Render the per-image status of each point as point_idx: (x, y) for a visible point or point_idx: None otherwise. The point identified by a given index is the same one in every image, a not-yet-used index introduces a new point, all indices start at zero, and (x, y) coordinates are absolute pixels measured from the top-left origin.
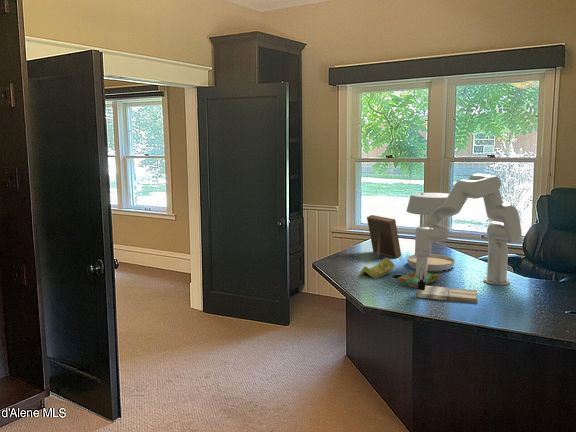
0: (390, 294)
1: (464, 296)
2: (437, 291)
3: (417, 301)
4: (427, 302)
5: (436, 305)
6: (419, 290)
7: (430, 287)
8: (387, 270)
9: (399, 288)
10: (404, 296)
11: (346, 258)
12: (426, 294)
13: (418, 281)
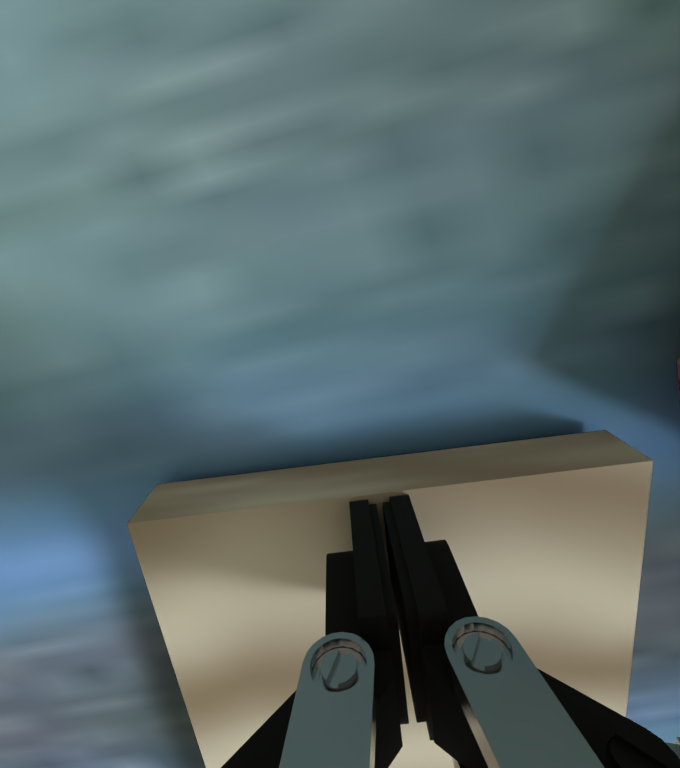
0: (111, 4)
1: None
2: None
3: (11, 521)
4: (49, 629)
5: (3, 723)
6: (295, 531)
7: (547, 635)
8: None
9: (579, 78)
10: (134, 298)
11: None
12: (169, 643)
13: (375, 619)
